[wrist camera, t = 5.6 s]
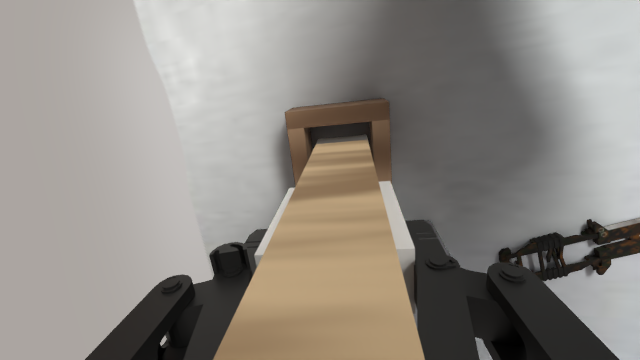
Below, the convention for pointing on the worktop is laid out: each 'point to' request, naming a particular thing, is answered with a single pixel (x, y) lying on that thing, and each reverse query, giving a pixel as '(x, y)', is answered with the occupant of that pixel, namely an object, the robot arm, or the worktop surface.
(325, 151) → the light wood square bar
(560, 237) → the knife
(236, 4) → the worktop surface
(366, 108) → the square wooden socket
